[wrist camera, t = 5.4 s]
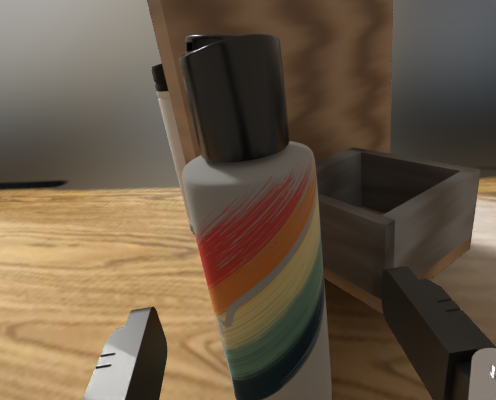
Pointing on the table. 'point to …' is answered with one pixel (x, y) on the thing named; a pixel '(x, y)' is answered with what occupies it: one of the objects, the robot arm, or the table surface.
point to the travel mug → (171, 129)
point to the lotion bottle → (256, 219)
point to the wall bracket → (339, 133)
